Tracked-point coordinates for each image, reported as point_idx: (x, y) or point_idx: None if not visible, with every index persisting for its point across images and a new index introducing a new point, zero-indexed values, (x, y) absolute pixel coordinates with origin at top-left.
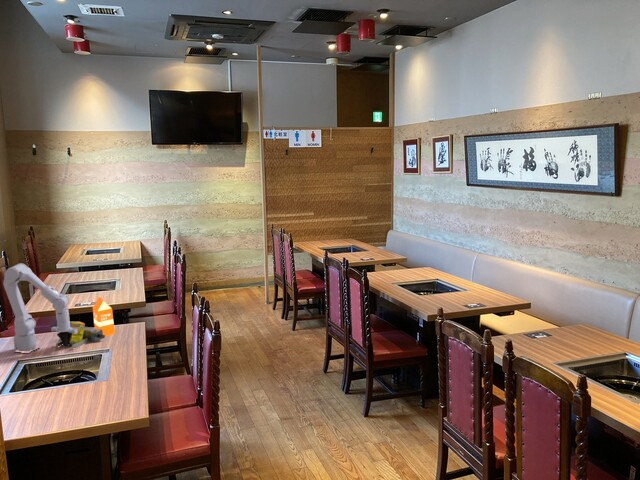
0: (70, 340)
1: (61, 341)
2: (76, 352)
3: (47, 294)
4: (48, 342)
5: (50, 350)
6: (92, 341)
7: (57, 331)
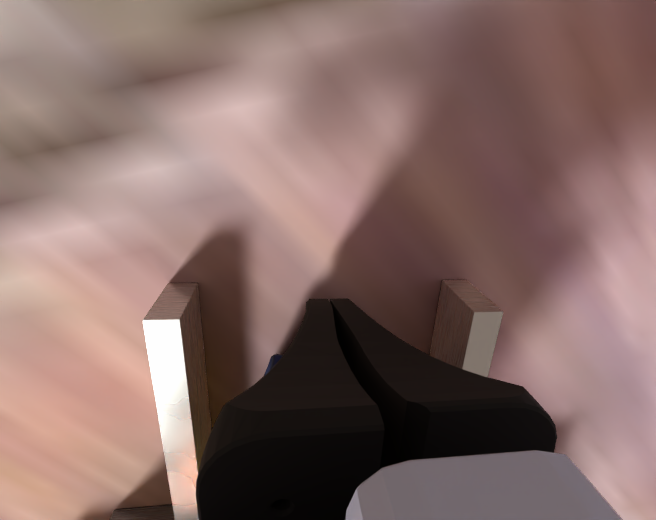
0: None
1: None
2: (47, 225)
3: None
4: (647, 372)
5: (495, 194)
6: (153, 514)
7: (550, 508)
